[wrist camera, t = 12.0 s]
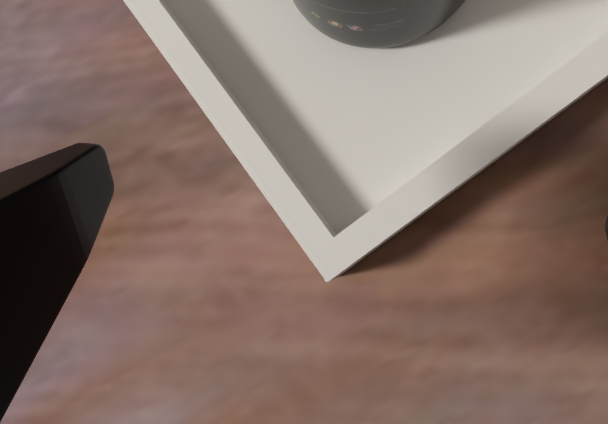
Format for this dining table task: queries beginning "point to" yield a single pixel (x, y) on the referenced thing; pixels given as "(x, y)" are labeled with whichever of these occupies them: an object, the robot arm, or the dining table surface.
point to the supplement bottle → (377, 19)
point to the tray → (375, 104)
